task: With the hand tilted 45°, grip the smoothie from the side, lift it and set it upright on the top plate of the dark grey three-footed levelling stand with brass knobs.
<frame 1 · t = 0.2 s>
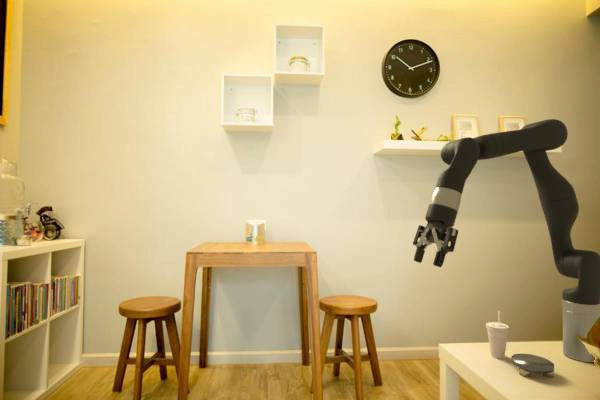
hand: (426, 263, 95), 31 cm above the table, tool tilted 20°, fingers open, 8 cm apart
smoothie: (497, 356, 110), on the table
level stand: (532, 372, 99), on the table
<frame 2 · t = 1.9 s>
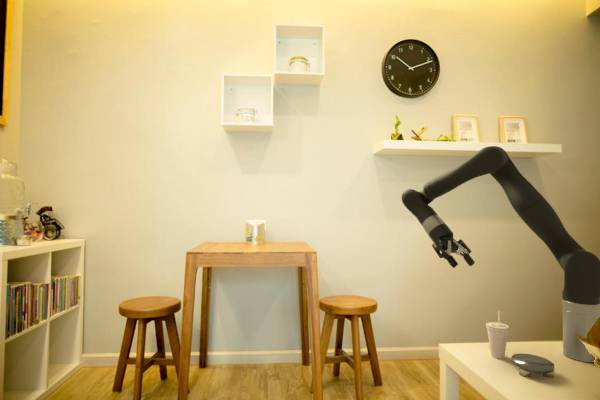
hand: (464, 265, 121), 27 cm above the table, tool tilted 45°, fingers open, 8 cm apart
nothing on the table moved.
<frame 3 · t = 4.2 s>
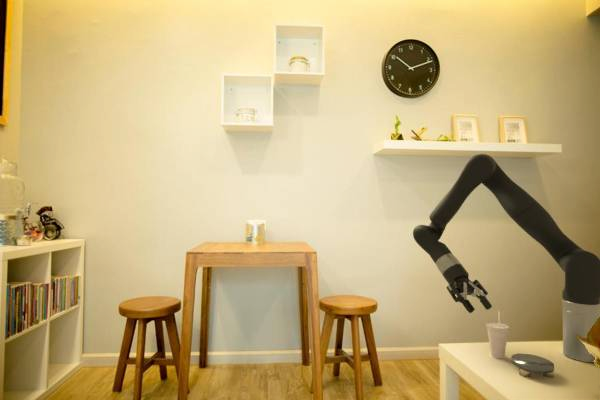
hand: (481, 310, 115), 13 cm above the table, tool tilted 45°, fingers open, 8 cm apart
nothing on the table moved.
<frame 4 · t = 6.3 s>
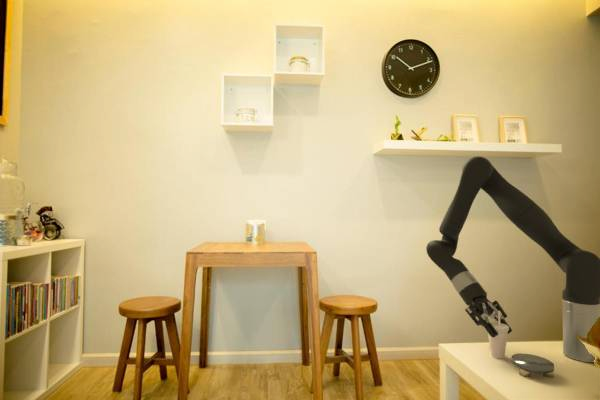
hand: (502, 334, 109), 7 cm above the table, tool tilted 45°, fingers closed on smoothie, 6 cm apart
smoothie: (497, 356, 110), on the table, touching gripper
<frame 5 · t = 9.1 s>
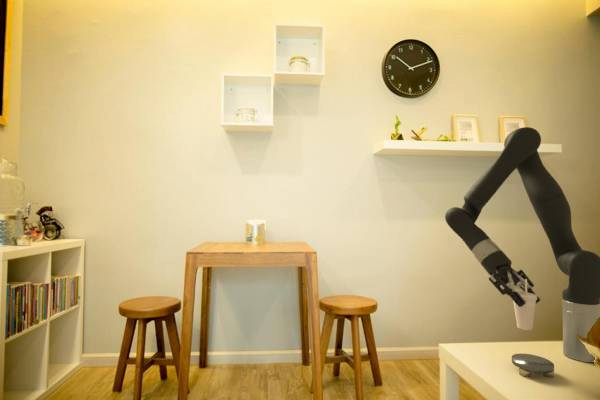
hand: (530, 303, 101), 19 cm above the table, tool tilted 45°, fingers closed on smoothie, 6 cm apart
smoothie: (524, 328, 102), point 11 cm above the table, touching gripper
when the fingers open (12 cm above the table, at t = 11.7 s): smoothie drops 1 cm, resting on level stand.
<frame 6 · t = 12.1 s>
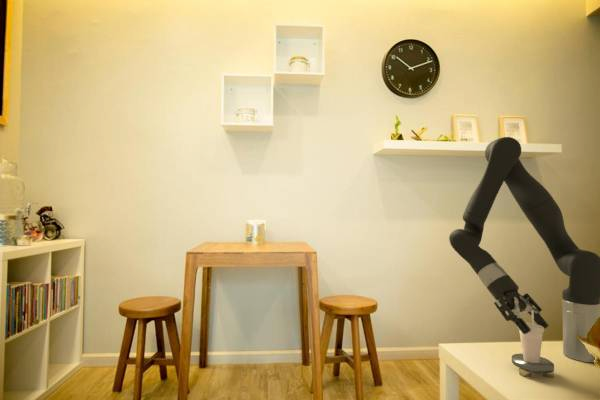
hand: (536, 330, 98), 12 cm above the table, tool tilted 45°, fingers open, 8 cm apart
smoothie: (531, 361, 100), point 3 cm above the table, touching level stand
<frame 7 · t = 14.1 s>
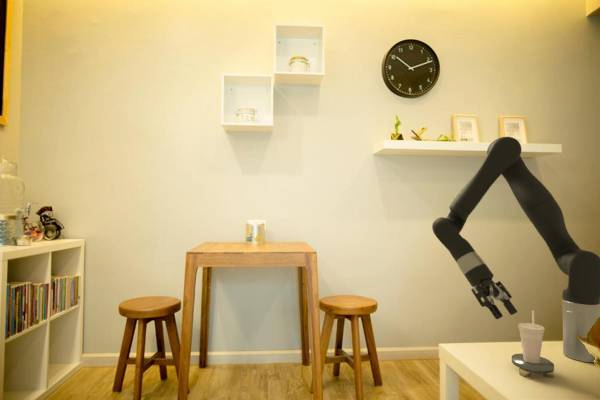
hand: (507, 315, 106), 14 cm above the table, tool tilted 40°, fingers open, 8 cm apart
nothing on the table moved.
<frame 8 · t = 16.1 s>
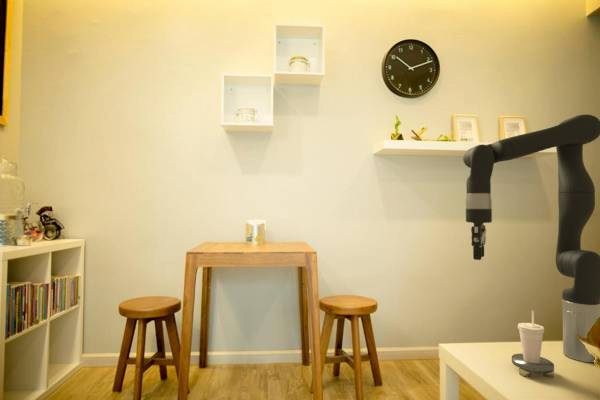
hand: (478, 258, 114), 30 cm above the table, tool pointing down, fingers open, 8 cm apart
nothing on the table moved.
at the end: smoothie 0.2 cm from the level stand (horizontally); smoothie point 3.0 cm above the table; smoothie tilted 0° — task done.
